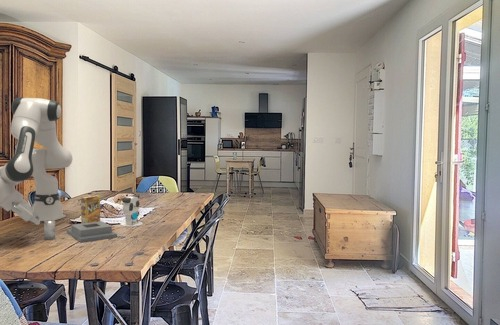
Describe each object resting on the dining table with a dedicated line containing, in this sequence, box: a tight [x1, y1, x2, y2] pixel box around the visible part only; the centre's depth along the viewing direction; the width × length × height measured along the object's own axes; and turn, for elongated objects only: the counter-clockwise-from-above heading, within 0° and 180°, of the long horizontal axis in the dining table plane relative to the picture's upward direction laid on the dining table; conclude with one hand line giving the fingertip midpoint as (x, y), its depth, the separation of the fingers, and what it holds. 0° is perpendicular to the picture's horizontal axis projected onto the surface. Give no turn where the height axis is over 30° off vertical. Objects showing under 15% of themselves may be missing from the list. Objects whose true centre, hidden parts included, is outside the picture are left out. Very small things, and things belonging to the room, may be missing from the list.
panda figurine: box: [120, 194, 143, 228], centre depth 207 cm, size 12×11×15 cm
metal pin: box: [43, 220, 56, 241], centre depth 176 cm, size 4×4×8 cm
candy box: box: [80, 195, 101, 224], centre depth 203 cm, size 9×4×15 cm, turn 150°
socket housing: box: [66, 220, 118, 244], centre depth 184 cm, size 22×16×4 cm
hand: (38, 221), depth 173 cm, fingers open, 8 cm apart
